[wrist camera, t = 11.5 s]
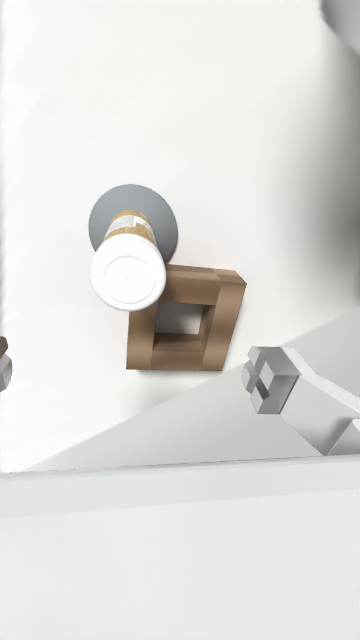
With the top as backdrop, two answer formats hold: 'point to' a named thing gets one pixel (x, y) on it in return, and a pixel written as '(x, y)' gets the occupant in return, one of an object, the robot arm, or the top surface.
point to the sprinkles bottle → (128, 264)
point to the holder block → (215, 328)
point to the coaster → (137, 201)
